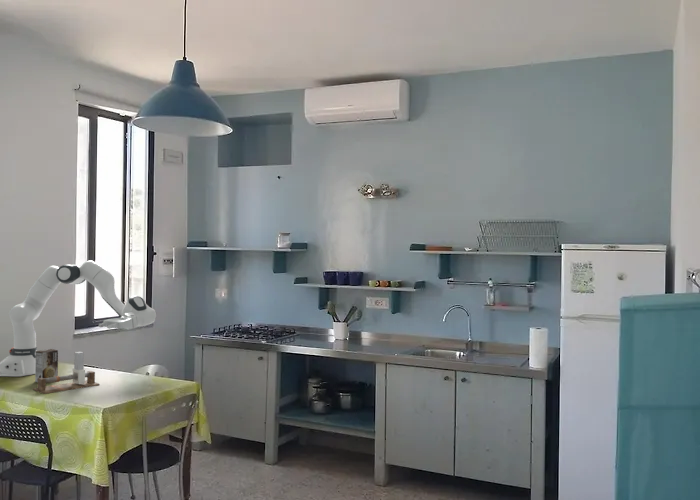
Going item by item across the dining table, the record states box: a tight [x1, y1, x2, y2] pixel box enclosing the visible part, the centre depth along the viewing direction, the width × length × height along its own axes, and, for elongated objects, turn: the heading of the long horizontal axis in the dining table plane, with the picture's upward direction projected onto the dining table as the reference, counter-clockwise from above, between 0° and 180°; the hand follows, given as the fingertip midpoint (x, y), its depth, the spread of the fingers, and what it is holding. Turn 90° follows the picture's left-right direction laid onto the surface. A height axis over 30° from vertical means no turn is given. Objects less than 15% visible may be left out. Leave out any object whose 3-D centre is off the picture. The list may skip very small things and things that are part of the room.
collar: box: [72, 351, 86, 384], centre depth 327 cm, size 3×7×16 cm, turn 49°
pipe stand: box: [32, 370, 100, 395], centre depth 322 cm, size 28×12×6 cm, turn 139°
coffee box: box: [34, 348, 59, 383], centre depth 336 cm, size 9×6×16 cm
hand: (103, 326), depth 336 cm, fingers open, 8 cm apart
